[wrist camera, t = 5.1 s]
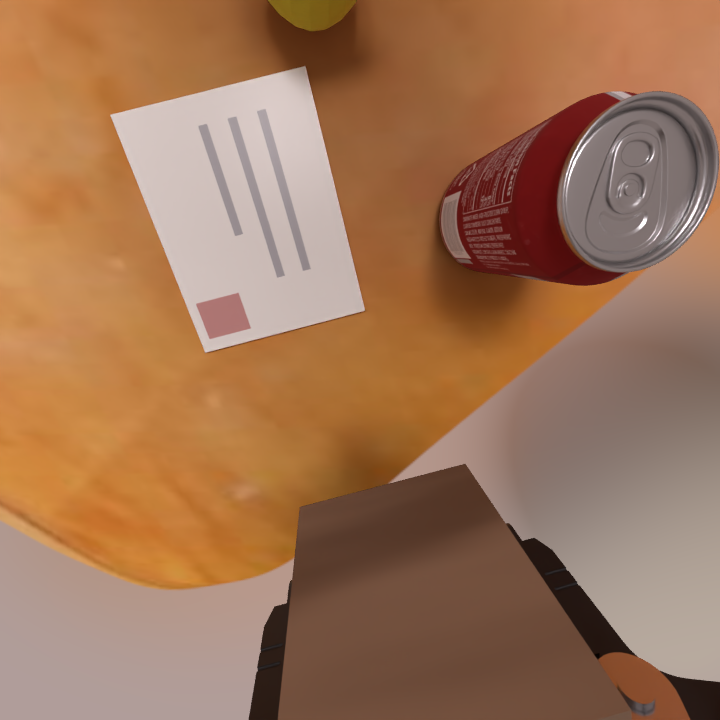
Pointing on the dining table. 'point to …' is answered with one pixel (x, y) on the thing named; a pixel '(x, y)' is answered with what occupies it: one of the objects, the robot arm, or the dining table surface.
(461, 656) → the walnut block
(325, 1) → the lemon
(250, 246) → the letter
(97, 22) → the dining table surface
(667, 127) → the soda can
